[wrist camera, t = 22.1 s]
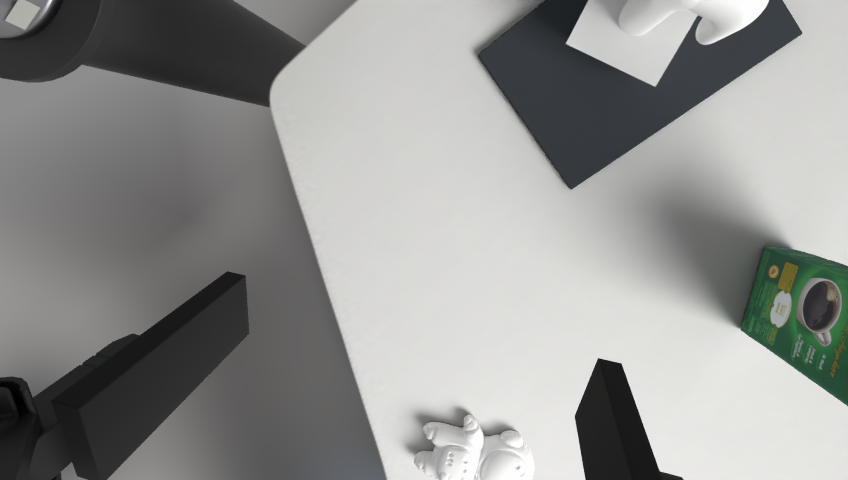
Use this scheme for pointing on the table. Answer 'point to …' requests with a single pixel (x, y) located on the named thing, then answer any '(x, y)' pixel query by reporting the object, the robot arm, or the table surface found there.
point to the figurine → (655, 30)
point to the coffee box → (802, 315)
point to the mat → (614, 83)
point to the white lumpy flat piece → (474, 453)
